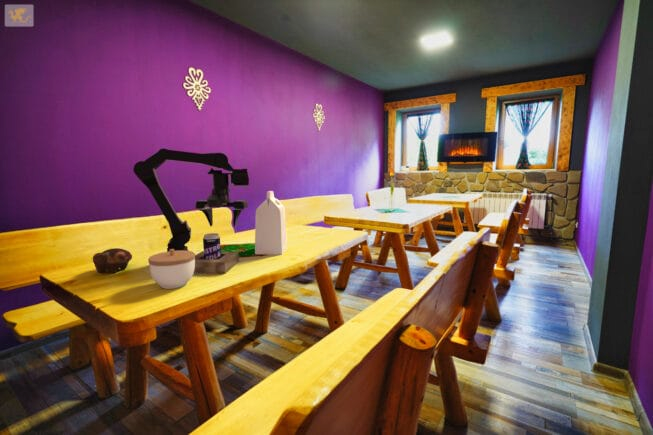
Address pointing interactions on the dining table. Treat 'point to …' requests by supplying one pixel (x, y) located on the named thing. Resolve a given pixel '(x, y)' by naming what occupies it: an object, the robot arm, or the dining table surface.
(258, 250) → the milk
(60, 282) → the dining table surface
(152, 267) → the lidded bowl
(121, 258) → the dark brown rounded lump
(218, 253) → the beverage can
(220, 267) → the socket
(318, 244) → the dining table surface
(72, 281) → the dining table surface
